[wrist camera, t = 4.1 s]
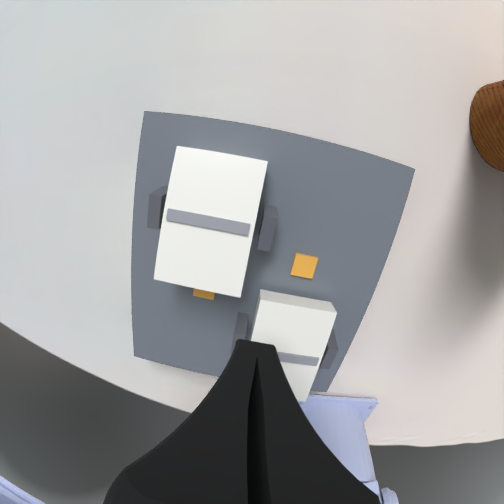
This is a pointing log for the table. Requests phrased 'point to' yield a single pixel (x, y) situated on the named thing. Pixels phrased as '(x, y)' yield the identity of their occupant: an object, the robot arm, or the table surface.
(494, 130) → the disposable coffee cup
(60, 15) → the table surface
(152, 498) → the robot arm
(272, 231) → the console
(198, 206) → the rocker
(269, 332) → the rocker
